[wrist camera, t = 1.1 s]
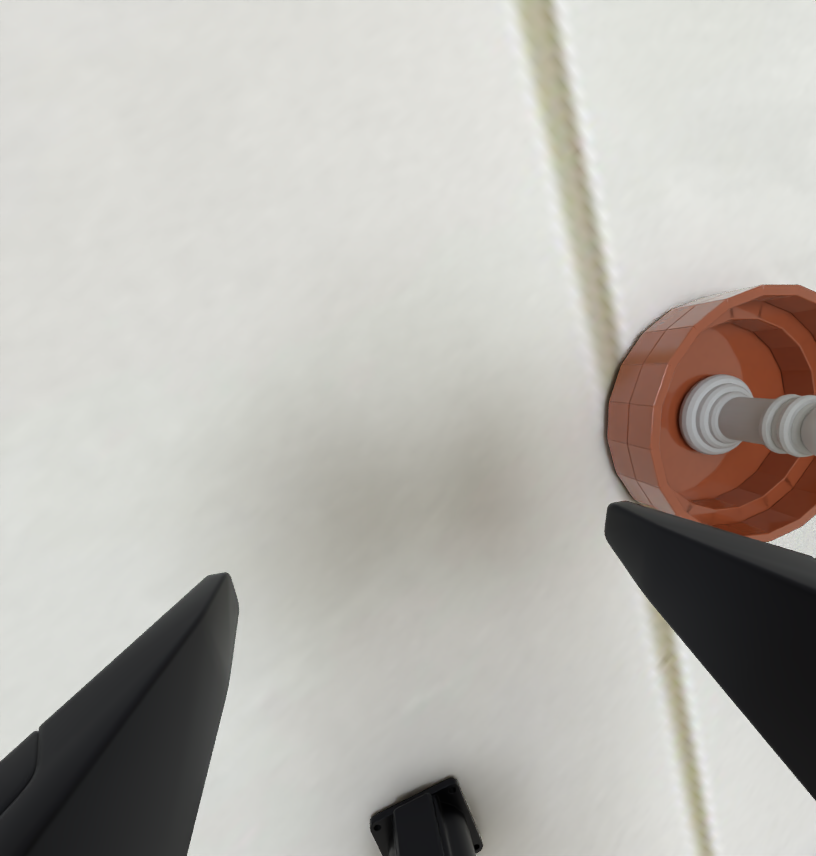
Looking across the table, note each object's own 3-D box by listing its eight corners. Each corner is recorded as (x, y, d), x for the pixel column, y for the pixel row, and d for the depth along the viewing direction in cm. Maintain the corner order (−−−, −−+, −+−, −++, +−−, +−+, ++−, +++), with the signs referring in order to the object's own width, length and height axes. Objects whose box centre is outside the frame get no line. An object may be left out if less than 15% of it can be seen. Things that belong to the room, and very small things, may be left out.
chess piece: (692, 467, 26) (869, 516, 17) (663, 401, 25) (836, 416, 16) (753, 426, 26) (957, 453, 18) (727, 359, 25) (931, 351, 17)
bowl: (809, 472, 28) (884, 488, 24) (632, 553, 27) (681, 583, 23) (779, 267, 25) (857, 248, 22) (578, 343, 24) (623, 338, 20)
